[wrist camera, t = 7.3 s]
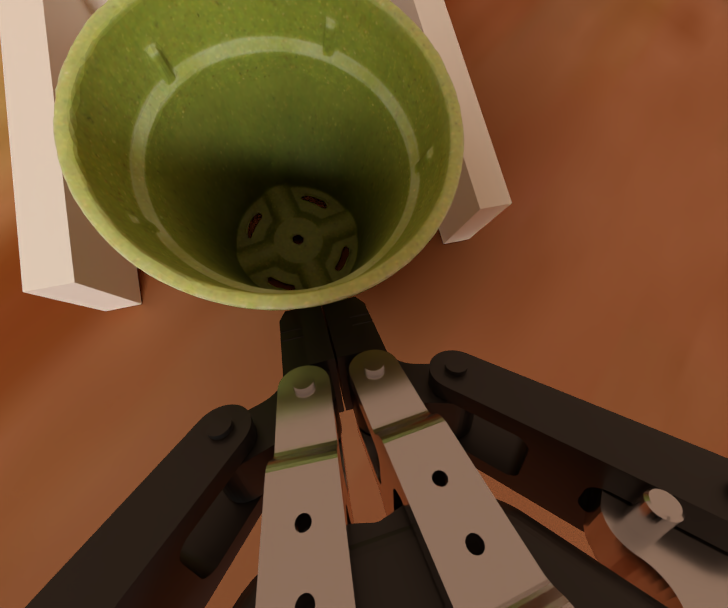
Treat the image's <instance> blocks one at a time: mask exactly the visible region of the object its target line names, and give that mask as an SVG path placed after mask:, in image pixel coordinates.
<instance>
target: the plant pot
mask: <svg viewBox="0 0 728 608" xmlns="http://www.w3.org/2000/svg"><path fill="white" fill-rule="evenodd" d="M55 93H56V99H55V103H54V118H53V133H54V141H55V146H56V150H57V157H58V160H59V164H60V167H61V170H62V173H63V176H64V178H65V180H66V182H67V185H68V188H69V190H70V192H71V194H72V196H73V198H74V199H75V201H76V203H77V204H78V206H79V207H80V209H81V210H82V212H83V214H84V215H85V216H86V218H87V219H88V220H89V221H90V223H91V224H92V225H93V226H94V228H95V229H96V230H97V231H98V232H99V234H100V235H101V236H102V237H103V238H104V239H105V240H106V241H107V242H108V243H109V244H110V245H111V246H112V247H113V248H114V249H115V250H116V251H117V252H118V253H119V254H121V255H122V256H123V257H124V258H125V259H127V260H128V261H129V262H131V263H132V264H133V265H135V266H136V267H137V268H139V269H141V270H142V271H144V272H145V273H147V274H148V275H150V276H152V277H154V278H156V279H157V280H159V281H161V282H163V283H165V284H167V285H169V286H171V287H173V288H176V289H178V290H180V291H183V292H185V293H188V294H191V295H193V296H196V297H199V298H202V299H206V300H209V301H213V302H217V303H221V304H225V305H230V306H234V307H240V308H247V309H260V310H291V309H300V308H310V307H316V306H320V305H325V304H329V303H333V302H336V301H340V300H344V299H346V298H349V297H351V296H354V295H356V294H359V293H361V292H363V291H365V290H368V289H370V288H372V287H374V286H375V285H377V284H379V283H381V282H382V281H384V280H386V279H387V278H389V277H390V276H392V275H393V274H395V273H396V272H397V271H399V270H400V269H401V268H403V267H404V266H405V265H407V264H408V263H409V262H410V261H411V260H412V259H413V258H414V257H415V256H416V255H418V254H419V253H420V251H421V250H422V249H423V248H424V247H425V246H426V244H427V243H428V242H429V241H430V240H431V239H432V237H433V236H434V235H435V233H436V232H437V230H438V229H439V227H440V225H441V224H442V222H443V220H444V218H445V216H446V214H447V213H448V211H449V209H450V207H451V204H452V202H453V199H454V196H455V194H456V190H457V187H458V183H459V179H460V175H461V170H462V163H463V153H464V130H463V123H462V116H461V109H460V104H459V102H458V97H457V94H456V90H455V87H454V85H453V83H452V80H451V78H450V76H449V74H448V72H447V70H446V67H445V64H444V62H443V60H442V58H441V56H440V54H439V53H438V51H437V50H436V49H435V48H434V46H433V45H432V43H431V42H430V40H429V39H428V37H427V36H426V35H425V34H424V33H423V32H422V30H421V29H420V28H419V27H418V26H417V25H416V24H415V23H414V21H413V20H412V19H411V18H409V17H408V16H407V15H406V14H405V13H404V12H403V11H402V10H401V9H400V8H399V7H397V6H396V5H395V4H394V3H393V2H391V1H390V0H108V1H107V2H106V3H105V4H104V5H103V6H101V7H100V8H98V9H97V10H96V11H95V12H94V13H93V14H92V16H91V17H90V18H89V19H88V20H87V21H86V23H85V24H84V26H83V28H82V29H81V31H80V32H79V34H78V35H77V37H76V39H75V41H74V43H73V45H72V46H71V47H70V50H69V53H68V55H67V57H66V59H65V61H64V63H63V65H62V68H61V70H60V74H59V77H58V81H57V86H56V89H55ZM304 196H311V197H314V198H317V199H320V200H322V201H323V202H325V204H326V205H327V207H326V208H325V209H324V208H322V207H320V206H318V205H316V204H315V203H312V202H309V201H305V200H302V197H304ZM258 213H260V214H262V218H261V220H260V221H259V223H258V224H257V226H256V228H255V230H254V233H252V237H251V238H249V236H248V226H249V224H250V221H251V220H252V218H253V217H254V216H255V215H257V214H258ZM295 235H300V236H302V237H303V238H304V240H303V242H302V243H301V244H296V243H294V242H293V237H294V236H295ZM344 246H347V247H348V249H349V256H348V258H347V260H346V263H345V265H344V267H343V268H342V269H341V270H339V271H337V270H336V269H335V267H336V265H337V263H338V261H339V259H340V257H341V254H342V249H343V247H344ZM269 277H272V278H274V279H276V280H278V281H280V282H282V283H286V284H289V285H294V286H295V289H294V290H286V289H283V288H276V287H274V286H272V285H271V284H270V283H268V278H269Z"/></svg>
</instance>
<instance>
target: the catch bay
mask: <svg viewBox="0 0 728 608" xmlns="http://www.w3.org/2000/svg"><path fill="white" fill-rule="evenodd" d="M107 1H108V0H0V37H1V49H2V60H3V72H4V83H5V94H6V106H7V117H8V129H9V140H10V151H11V163H12V174H13V186H14V197H15V208H16V220H17V231H18V243H19V254H20V265H21V277H22V288H23V292H25V293H29V294H34V295H38V296H42V297H47V298H51V299H55V300H60V301H64V302H68V303H73V304H77V305H81V306H86V307H90V308H94V309H98V310H103V311H109V310H114V309H119V308H124V307H129V306H134V305H139V304H142V301H141V294H140V287H139V280H138V273H137V267H136V266H135V265H133V264H132V263H131V262H129V261H128V260H127V259H125V258H124V257H123V256H122V255H121V254H119V253H118V252H117V251H116V250H115V249H114V248H113V247H112V246H111V245H110V244H109V243H108V242H107V241H106V240H105V239H104V238H103V237H102V236H101V235H100V234H99V232H98V231H97V230H96V229H95V228H94V226H93V225H92V224H91V223H90V221H89V220H88V219H87V218H86V216H85V215H84V214H83V212H82V210H81V209H80V207H79V206H78V204H77V203H76V201H75V199H74V198H73V196H72V194H71V192H70V190H69V188H68V185H67V182H66V180H65V178H64V176H63V173H62V170H61V167H60V164H59V160H58V157H57V150H56V146H55V141H54V133H53V118H54V103H55V99H56V93H55V89H56V86H57V81H58V77H59V74H60V70H61V68H62V65H63V63H64V61H65V59H66V57H67V55H68V53H69V50H70V47H71V46H72V45H73V43H74V41H75V39H76V37H77V35H78V34H79V32H80V31H81V29H82V28H83V26H84V24H85V23H86V21H87V20H88V19H89V18H90V17H91V16H92V14H93V13H94V12H95V11H96V10H97V9H98V8H100V7H101V6H103V5H104V4H105V3H106V2H107ZM390 1H391V2H393V3H394V4H395V5H396V6H397V7H399V8H400V9H401V10H402V11H403V12H404V13H405V14H406V15H407V16H408V17H409V18H411V19H412V20H413V21H414V23H415V24H416V25H417V26H418V27H419V28H420V29H421V30H422V32H423V33H424V34H425V35H426V36H427V37H428V39H429V40H430V42H431V43H432V45H433V46H434V48H435V49H436V50H437V51H438V53H439V54H440V56H441V58H442V60H443V62H444V64H445V67H446V70H447V72H448V74H449V76H450V78H451V80H452V83H453V85H454V87H455V90H456V94H457V97H458V102H459V104H460V109H461V116H462V123H463V130H464V153H463V163H462V170H461V175H460V179H459V183H458V187H457V190H456V194H455V196H454V199H453V202H452V204H451V207H450V209H449V211H448V213H447V214H446V216H445V218H444V220H443V222H442V224H441V225H440V227H439V231H440V234H441V238H442V241H443V244H447V243H452V242H457V241H462V240H467V239H470V238H471V237H472V236H473V235H474V234H476V233H477V232H478V231H479V230H480V229H482V228H483V227H484V226H485V225H486V224H488V223H489V222H490V221H491V220H492V219H494V218H495V217H496V216H497V215H498V214H500V213H501V212H502V211H503V210H505V209H506V208H507V207H508V206H509V205H511V204H512V201H511V199H510V196H509V193H508V190H507V187H506V184H505V181H504V178H503V175H502V172H501V169H500V166H499V163H498V160H497V157H496V154H495V151H494V148H493V145H492V142H491V139H490V136H489V133H488V130H487V127H486V124H485V121H484V118H483V115H482V112H481V109H480V106H479V103H478V100H477V97H476V94H475V91H474V88H473V85H472V82H471V79H470V76H469V73H468V70H467V67H466V65H465V62H464V59H463V56H462V53H461V50H460V47H459V44H458V41H457V38H456V35H455V32H454V29H453V26H452V23H451V20H450V17H449V14H448V11H447V8H446V5H445V2H444V0H390Z"/></svg>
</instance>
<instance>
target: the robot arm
mask: <svg viewBox="0 0 728 608" xmlns="http://www.w3.org/2000/svg"><path fill="white" fill-rule="evenodd" d="M321 307H322V308H321ZM280 333H281V334H280V335H281V350H282V365H283V378H282V379H281V381H280V383H279V386H278V390H277V391H276V392H275V394H273V395H272V396H271V397H270V398H269V399H267V400H266V401H264V402H263V403H261V404H259V405H257V406H255V407H253V408H252V409H250V410H247V409H245V408H244V407H242V406H239V405H225V406H221V407H218V408H216V409H214V410H212V411H211V412H209V413H208V414H206V415H205V416H204V417H203V418H202V419H201V420H200V421H199V422H198V423H197V424H196V425H195V426H194V427H193V428H192V429H191V430H190V431H189V432H188V433H187V435H186V436H185V437H184V438H183V439H182V440H181V441H180V442H179V443H178V444H177V445H176V446H175V447H174V448H173V450H172V451H171V452H170V453H169V454H168V455H167V456H166V457H165V458H164V459H163V460H162V461H161V462H160V463H159V465H158V466H157V467H156V468H155V469H154V470H153V471H152V472H151V473H150V474H149V475H148V476H147V477H146V478H145V480H144V481H143V482H142V483H141V484H140V485H139V486H138V487H137V488H136V489H135V490H134V491H133V492H132V493H131V495H130V496H129V497H128V498H127V499H126V500H125V501H124V502H123V503H122V504H121V505H120V506H119V507H118V508H117V509H116V511H115V512H114V513H113V514H112V515H111V516H110V517H109V518H108V519H107V520H106V521H105V522H104V523H103V524H102V526H101V527H100V528H99V529H98V530H97V531H96V532H95V533H94V534H93V535H92V536H91V537H90V538H89V539H88V541H87V542H86V543H85V544H84V545H83V546H82V547H81V548H80V549H79V550H78V551H77V552H76V553H75V554H74V556H73V557H72V558H71V559H70V560H69V561H68V562H67V563H66V564H65V565H64V566H63V567H62V568H61V569H60V571H59V572H58V573H57V574H56V575H55V576H54V577H53V578H52V579H51V580H50V581H49V582H48V583H47V584H46V585H45V587H44V588H43V589H42V590H41V591H40V592H39V593H38V594H37V595H36V596H35V597H34V598H33V599H32V600H31V602H30V603H29V604H28V605H27V606H26V607H25V608H205V606H206V605H207V603H208V601H209V600H210V598H211V596H212V595H213V593H214V591H215V590H216V588H217V586H218V585H219V583H220V581H221V580H222V578H223V576H224V575H225V573H226V571H227V570H228V568H229V566H230V565H231V563H232V562H233V560H234V558H235V557H236V555H237V553H238V552H239V550H240V548H241V547H242V545H243V543H244V542H245V540H246V538H247V537H248V535H249V533H250V532H251V530H252V528H253V527H254V525H255V523H256V522H257V520H258V518H259V517H260V515H261V513H262V524H261V537H260V551H259V565H258V575H257V576H256V577H255V578H254V579H253V580H252V581H251V582H250V584H249V585H248V586H247V587H246V589H245V590H244V591H243V593H242V594H241V595H240V597H239V598H238V600H237V601H236V603H235V605H234V606H233V608H728V458H725V457H723V456H720V455H718V454H715V453H713V452H711V451H708V450H706V449H703V448H701V447H698V446H696V445H693V444H691V443H688V442H686V441H683V440H681V439H678V438H676V437H673V436H671V435H668V434H666V433H663V432H661V431H658V430H656V429H653V428H651V427H648V426H646V425H643V424H641V423H638V422H636V421H633V420H631V419H628V418H626V417H623V416H621V415H618V414H616V413H613V412H611V411H609V410H606V409H604V408H601V407H599V406H596V405H594V404H591V403H589V402H586V401H584V400H581V399H579V398H576V397H574V396H571V395H569V394H566V393H564V392H561V391H559V390H556V389H554V388H551V387H549V386H546V385H544V384H541V383H539V382H536V381H534V380H531V379H529V378H526V377H524V376H521V375H519V374H516V373H514V372H511V371H509V370H507V369H504V368H502V367H499V366H497V365H494V364H492V363H489V362H487V361H484V360H482V359H479V358H477V357H474V356H472V355H469V354H467V353H464V352H460V351H453V350H452V351H444V352H441V353H438V354H437V355H435V356H434V357H433V358H432V360H431V361H430V364H409V363H404V362H401V361H398V360H397V359H396V358H395V357H394V356H393V355H392V354H390V353H388V352H387V351H386V349H385V347H384V344H383V342H382V340H381V338H380V336H379V334H378V332H377V329H376V327H375V325H374V323H373V322H372V319H371V317H370V314H369V312H368V310H367V308H366V306H365V304H364V303H363V302H362V301H360V300H359V299H358V298H356V297H352V298H347V299H344V300H340V301H336V302H333V303H329V304H325V305H320V306H316V307H310V308H300V309H295V310H290V311H285V312H284V314H283V316H282V318H281V320H280ZM339 384H340V385H339ZM340 388H341V390H340ZM341 392H342V396H343V400H344V403H345V407H346V410H350V409H353V410H354V413H355V417H356V421H357V428H358V433H359V435H360V438H361V441H362V444H363V446H364V449H365V452H366V454H367V457H368V460H369V463H370V465H371V468H372V471H373V474H374V476H375V479H376V482H377V485H378V487H379V490H380V494H381V497H382V501H383V505H384V509H385V512H386V516H387V517H385V518H384V519H382V520H381V521H379V522H376V523H356V524H354V520H353V514H352V508H351V502H350V495H349V488H348V481H347V474H346V466H345V459H344V452H343V444H342V437H341V433H342V426H341V421H340V416H339V413H340V412H343V411H344V407H343V402H342V396H341ZM476 468H477V469H478V470H480V471H482V472H483V473H485V474H487V475H488V476H490V477H492V478H493V479H495V480H497V481H499V482H500V483H502V484H504V485H505V486H507V487H509V488H510V489H512V490H514V491H515V492H517V493H519V494H521V495H522V496H524V497H526V498H527V499H529V500H531V501H532V502H534V503H536V504H537V505H539V506H541V507H543V508H544V509H546V510H548V511H549V512H551V513H553V514H554V515H556V516H558V517H559V518H561V519H563V520H565V521H566V522H568V523H570V524H571V525H573V526H575V527H576V528H578V529H580V530H581V531H583V532H585V536H586V539H587V541H588V543H589V545H590V547H591V549H592V550H593V553H594V556H595V558H596V559H597V560H598V561H596V560H595V559H593V558H592V557H590V556H589V555H587V554H586V553H584V552H583V551H581V550H580V549H578V548H577V547H575V546H574V545H572V544H571V543H569V542H567V541H566V540H564V539H563V538H561V537H560V536H558V535H557V534H555V533H554V532H552V531H551V530H549V529H548V528H546V527H545V526H543V525H542V524H540V523H539V522H537V521H535V520H534V519H532V518H531V517H529V516H528V515H526V514H525V513H523V512H522V511H520V510H518V509H517V508H515V507H513V506H511V505H509V504H507V503H505V502H503V501H500V500H497V499H495V497H494V496H493V494H492V493H491V491H490V489H489V488H488V486H487V485H486V483H485V482H484V480H483V479H482V477H481V475H480V474H479V472H478V471H477V469H476Z"/></svg>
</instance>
